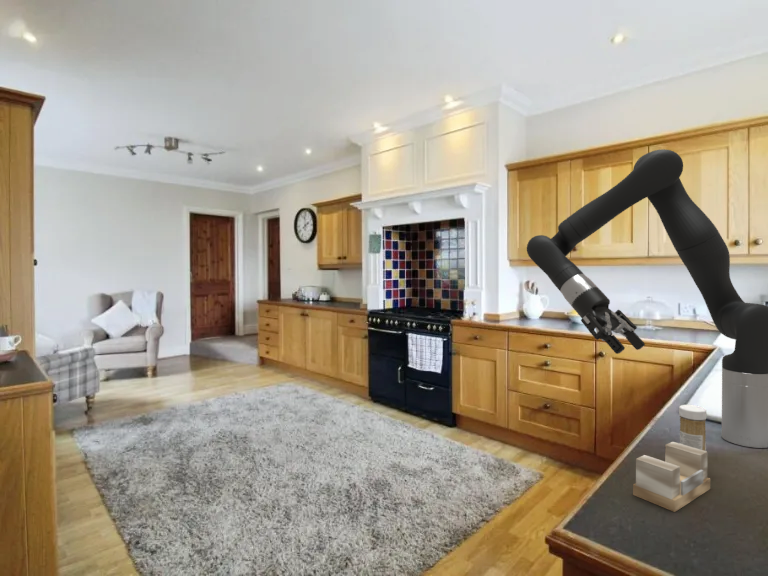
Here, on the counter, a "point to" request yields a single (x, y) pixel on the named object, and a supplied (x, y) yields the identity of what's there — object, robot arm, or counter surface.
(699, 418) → the sprinkles bottle
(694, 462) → the napkin holder
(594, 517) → the counter surface
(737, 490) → the counter surface
